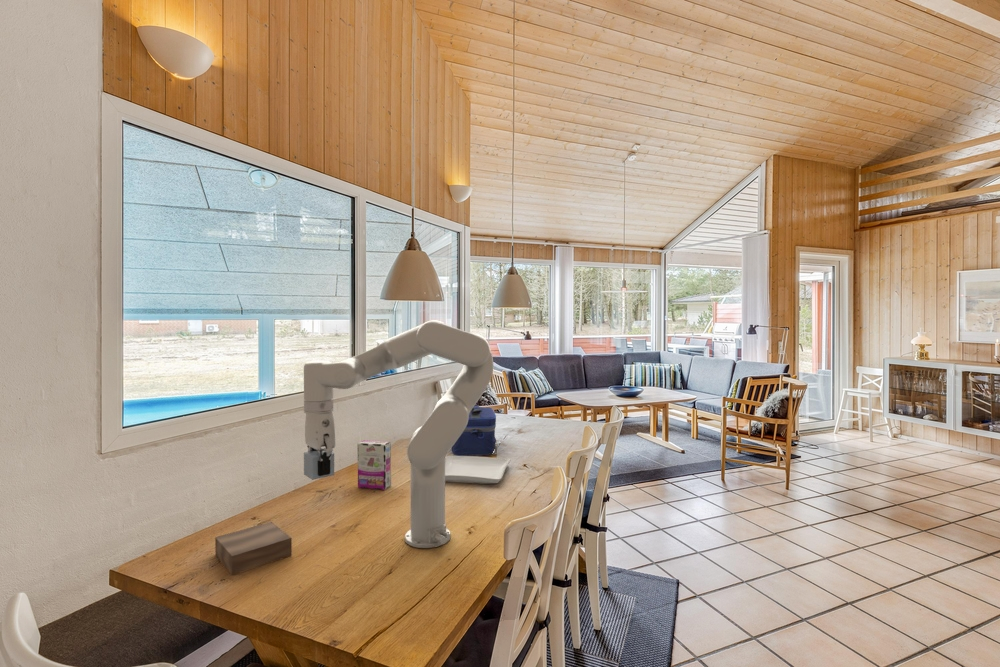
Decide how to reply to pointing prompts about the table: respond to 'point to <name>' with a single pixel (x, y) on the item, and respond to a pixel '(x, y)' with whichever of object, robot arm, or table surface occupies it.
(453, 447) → the lunch bag
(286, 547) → the walnut block
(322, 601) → the table surface
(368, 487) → the candy bar box
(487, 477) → the square plate
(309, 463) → the slate cube
